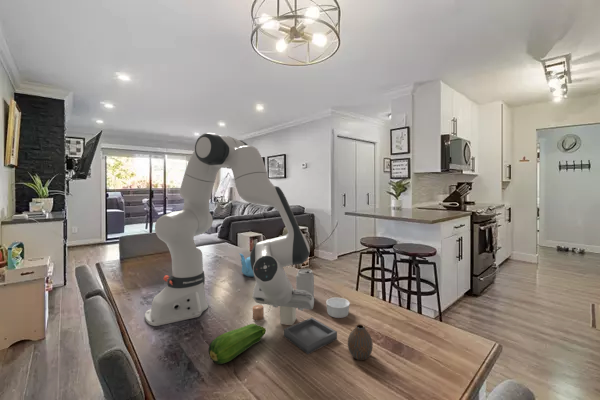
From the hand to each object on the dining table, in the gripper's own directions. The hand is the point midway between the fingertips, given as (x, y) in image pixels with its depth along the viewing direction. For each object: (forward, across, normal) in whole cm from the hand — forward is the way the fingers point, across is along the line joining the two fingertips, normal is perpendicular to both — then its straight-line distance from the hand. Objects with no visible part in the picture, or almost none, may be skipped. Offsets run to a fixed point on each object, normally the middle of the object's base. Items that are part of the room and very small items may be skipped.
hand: (288, 306), depth 101 cm
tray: (-3, -10, +10) cm, 14 cm away
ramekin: (+11, -16, -3) cm, 20 cm away
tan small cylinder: (+3, +11, +4) cm, 13 cm away
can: (+18, -1, -10) cm, 20 cm away
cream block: (+3, 0, +4) cm, 5 cm away
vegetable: (-10, +9, +18) cm, 23 cm away
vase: (-6, -26, +14) cm, 30 cm away
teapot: (+35, +34, -28) cm, 56 cm away
